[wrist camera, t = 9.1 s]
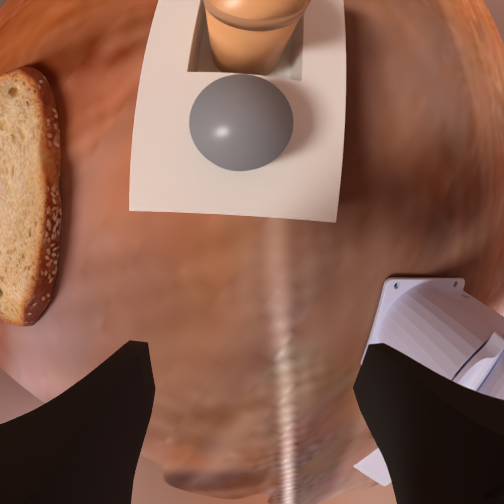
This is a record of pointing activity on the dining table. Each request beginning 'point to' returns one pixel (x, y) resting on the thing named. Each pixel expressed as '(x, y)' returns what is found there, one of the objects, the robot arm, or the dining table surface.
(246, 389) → the dining table surface
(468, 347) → the robot arm
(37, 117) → the bread slice
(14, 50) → the dining table surface
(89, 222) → the dining table surface
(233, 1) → the orange tapered cylinder
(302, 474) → the dining table surface
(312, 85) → the cream block with recess
